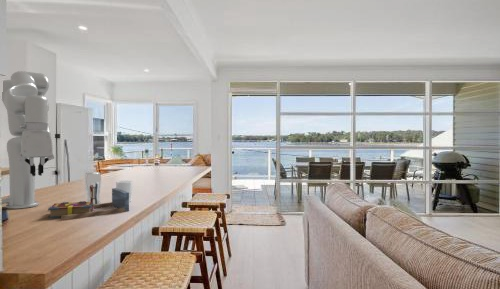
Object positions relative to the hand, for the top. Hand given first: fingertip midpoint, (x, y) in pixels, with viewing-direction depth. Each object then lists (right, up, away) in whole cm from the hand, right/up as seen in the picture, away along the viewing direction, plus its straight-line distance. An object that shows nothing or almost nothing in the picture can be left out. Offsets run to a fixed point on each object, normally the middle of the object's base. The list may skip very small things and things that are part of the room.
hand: (36, 175), depth 129 cm
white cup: (+20, -17, +37) cm, 45 cm away
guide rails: (+14, -17, +13) cm, 26 cm away
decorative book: (+9, -18, +9) cm, 22 cm away
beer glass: (+8, -17, +29) cm, 34 cm away
